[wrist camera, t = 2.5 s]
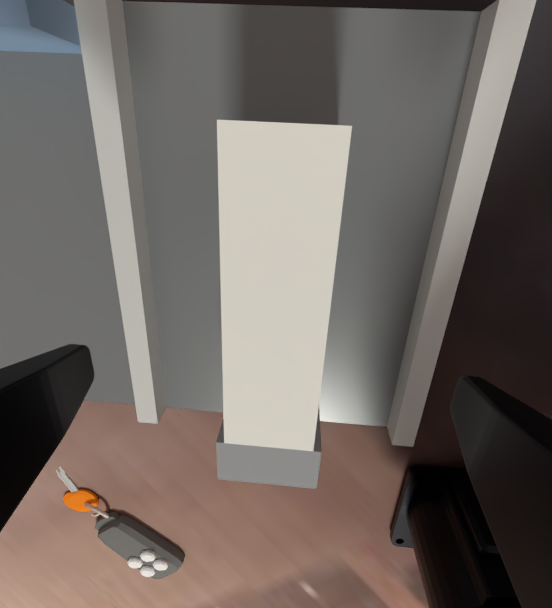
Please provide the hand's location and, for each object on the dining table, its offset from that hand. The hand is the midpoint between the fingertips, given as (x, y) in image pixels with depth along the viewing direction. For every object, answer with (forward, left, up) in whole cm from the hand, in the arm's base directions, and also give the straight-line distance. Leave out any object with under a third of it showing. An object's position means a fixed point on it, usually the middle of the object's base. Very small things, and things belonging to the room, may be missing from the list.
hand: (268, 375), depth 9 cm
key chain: (-18, +11, -9) cm, 23 cm away
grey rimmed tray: (+1, +6, -8) cm, 10 cm away
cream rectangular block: (0, 0, -7) cm, 7 cm away
